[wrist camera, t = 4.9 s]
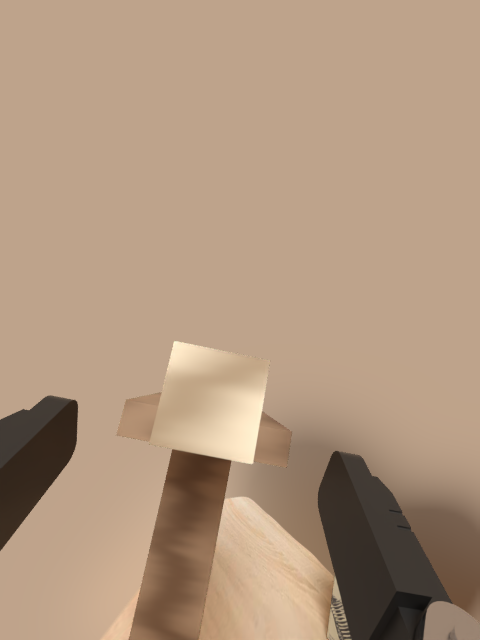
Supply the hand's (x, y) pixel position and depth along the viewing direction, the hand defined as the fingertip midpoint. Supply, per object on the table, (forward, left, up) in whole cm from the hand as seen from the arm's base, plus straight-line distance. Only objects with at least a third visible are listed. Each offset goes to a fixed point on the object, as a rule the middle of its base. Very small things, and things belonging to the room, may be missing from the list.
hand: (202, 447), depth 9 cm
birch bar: (+4, -11, 0) cm, 11 cm away
